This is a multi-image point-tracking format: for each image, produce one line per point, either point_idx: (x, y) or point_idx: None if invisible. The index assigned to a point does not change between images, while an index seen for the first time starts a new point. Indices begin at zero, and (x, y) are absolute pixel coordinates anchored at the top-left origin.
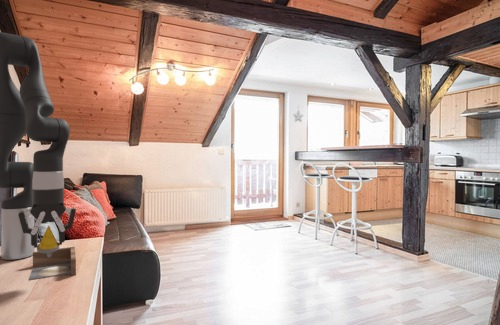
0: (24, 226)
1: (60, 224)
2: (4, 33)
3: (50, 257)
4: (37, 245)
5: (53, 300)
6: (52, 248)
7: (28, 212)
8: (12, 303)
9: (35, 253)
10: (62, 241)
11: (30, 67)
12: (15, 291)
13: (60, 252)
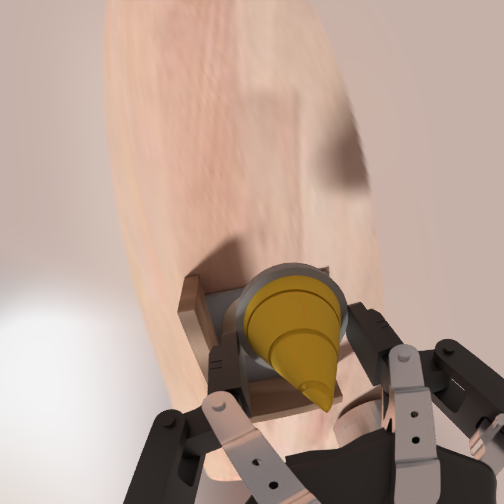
0: (471, 368)
1: (235, 439)
2: None
3: (291, 391)
4: (347, 322)
5: (207, 68)
6: (263, 287)
7: (495, 461)
8: (329, 94)
9: (334, 395)
10: (221, 349)
11: None
12: (346, 193)
13: (265, 406)
